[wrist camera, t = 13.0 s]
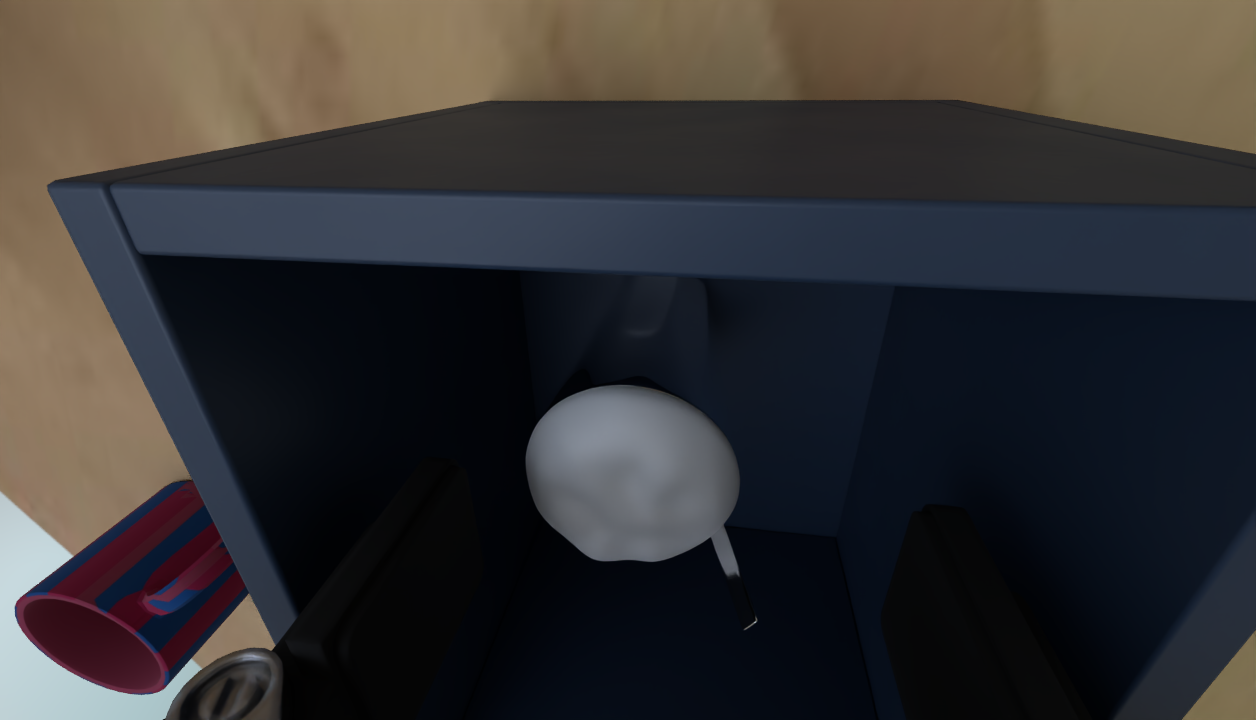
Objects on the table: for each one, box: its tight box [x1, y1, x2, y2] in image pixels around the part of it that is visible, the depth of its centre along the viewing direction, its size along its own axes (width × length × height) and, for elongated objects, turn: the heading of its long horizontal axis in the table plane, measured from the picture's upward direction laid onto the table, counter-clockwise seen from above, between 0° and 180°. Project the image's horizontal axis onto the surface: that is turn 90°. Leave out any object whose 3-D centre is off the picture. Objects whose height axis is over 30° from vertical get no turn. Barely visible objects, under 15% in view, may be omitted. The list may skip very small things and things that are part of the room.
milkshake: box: [526, 275, 758, 631], centre depth 14 cm, size 5×5×10 cm
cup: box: [15, 481, 249, 695], centre depth 26 cm, size 7×10×7 cm
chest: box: [47, 100, 1256, 720], centre depth 14 cm, size 17×14×13 cm
